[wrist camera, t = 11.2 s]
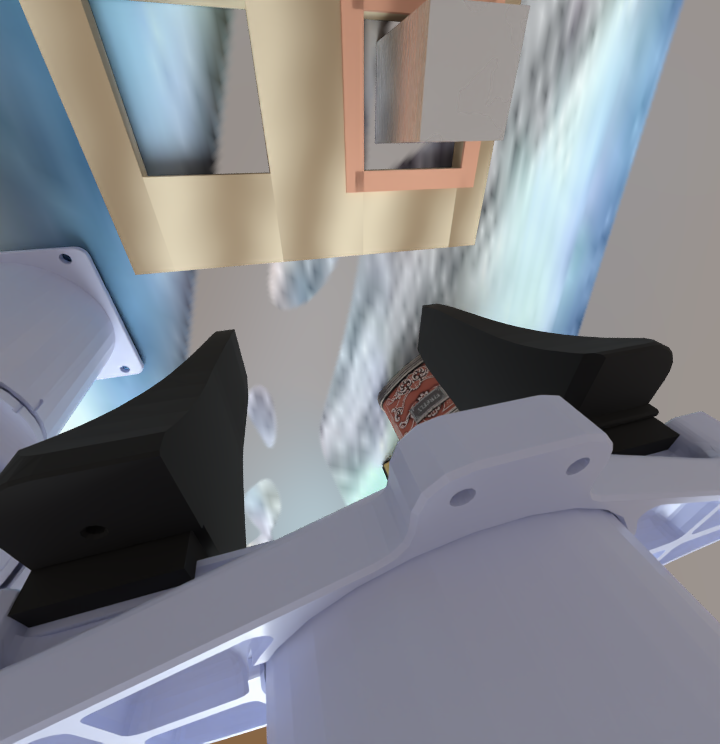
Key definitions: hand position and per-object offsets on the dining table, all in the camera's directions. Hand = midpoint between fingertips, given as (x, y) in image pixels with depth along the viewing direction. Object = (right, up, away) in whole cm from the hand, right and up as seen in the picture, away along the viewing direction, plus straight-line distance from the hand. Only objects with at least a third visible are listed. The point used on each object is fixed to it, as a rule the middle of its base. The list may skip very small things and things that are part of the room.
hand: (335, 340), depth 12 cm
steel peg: (+4, +14, +5) cm, 15 cm away
